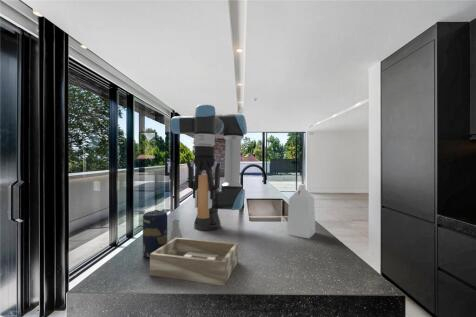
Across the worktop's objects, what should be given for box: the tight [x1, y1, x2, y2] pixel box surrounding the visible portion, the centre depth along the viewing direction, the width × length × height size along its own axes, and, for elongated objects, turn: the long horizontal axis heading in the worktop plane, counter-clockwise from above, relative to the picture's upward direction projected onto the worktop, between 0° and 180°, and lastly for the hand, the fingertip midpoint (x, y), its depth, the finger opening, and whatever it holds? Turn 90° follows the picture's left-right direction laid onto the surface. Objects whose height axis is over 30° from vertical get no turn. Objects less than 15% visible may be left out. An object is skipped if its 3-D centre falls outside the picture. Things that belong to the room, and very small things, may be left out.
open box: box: [149, 237, 239, 286], centre depth 89 cm, size 18×26×7 cm
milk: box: [286, 183, 316, 239], centre depth 132 cm, size 12×12×26 cm
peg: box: [196, 174, 210, 219], centre depth 94 cm, size 4×4×16 cm
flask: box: [167, 218, 184, 243], centre depth 117 cm, size 7×7×10 cm
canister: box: [142, 209, 168, 258], centre depth 101 cm, size 10×10×18 cm
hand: (203, 207), depth 94 cm, fingers closed on peg, 4 cm apart
